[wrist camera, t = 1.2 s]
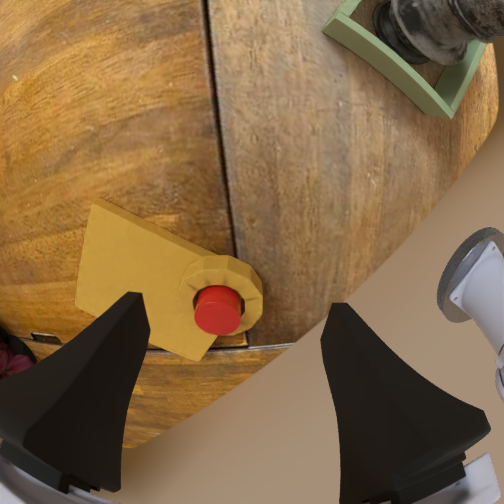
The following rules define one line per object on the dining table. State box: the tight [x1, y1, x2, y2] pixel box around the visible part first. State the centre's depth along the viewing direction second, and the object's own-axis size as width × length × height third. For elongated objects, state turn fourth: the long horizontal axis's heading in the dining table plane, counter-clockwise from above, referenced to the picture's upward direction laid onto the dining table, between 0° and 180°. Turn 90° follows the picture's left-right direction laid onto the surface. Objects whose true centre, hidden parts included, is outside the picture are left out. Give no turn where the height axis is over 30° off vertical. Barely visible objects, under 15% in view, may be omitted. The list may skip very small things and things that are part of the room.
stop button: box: [194, 285, 241, 335], centre depth 18 cm, size 3×3×2 cm
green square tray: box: [322, 0, 487, 119], centre depth 10 cm, size 9×9×3 cm
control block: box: [75, 198, 263, 362], centre depth 20 cm, size 14×12×3 cm
